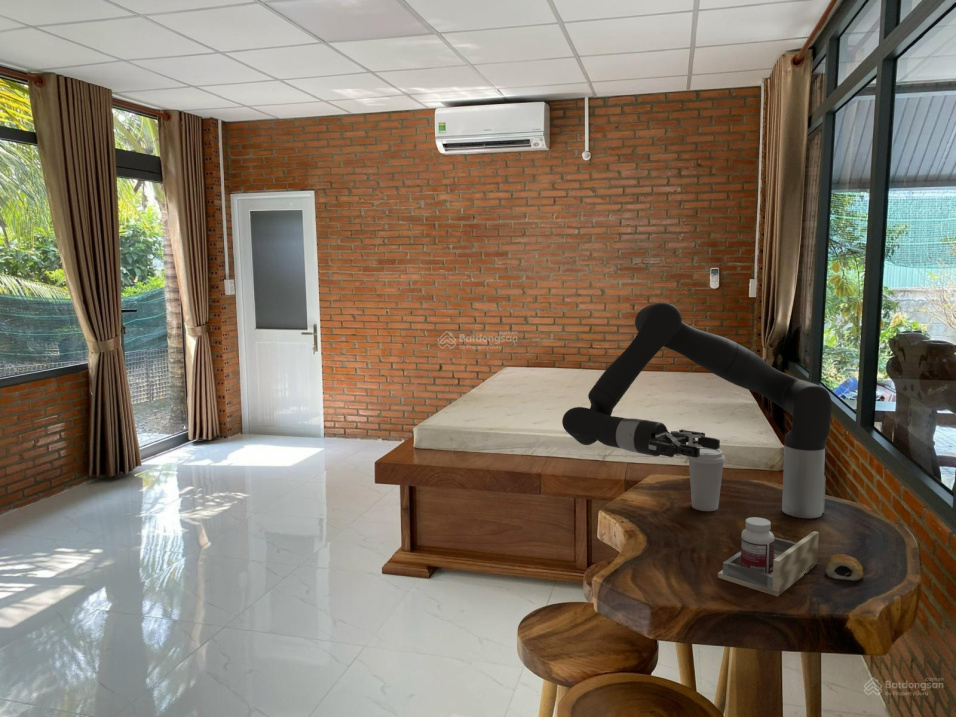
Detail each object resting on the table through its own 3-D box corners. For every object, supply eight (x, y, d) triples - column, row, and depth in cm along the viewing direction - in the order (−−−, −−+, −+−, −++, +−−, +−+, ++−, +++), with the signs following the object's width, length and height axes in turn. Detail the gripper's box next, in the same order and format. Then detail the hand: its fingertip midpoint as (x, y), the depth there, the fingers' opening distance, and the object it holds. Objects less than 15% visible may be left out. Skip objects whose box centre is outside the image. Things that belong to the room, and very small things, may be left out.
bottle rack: (760, 548, 156) (761, 518, 155) (817, 564, 148) (818, 532, 147) (717, 577, 142) (718, 544, 142) (777, 596, 134) (778, 561, 133)
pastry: (827, 560, 150) (828, 543, 150) (863, 567, 147) (864, 549, 146) (824, 578, 142) (825, 560, 141) (862, 585, 139) (864, 566, 138)
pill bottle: (758, 565, 145) (759, 514, 144) (780, 577, 140) (782, 524, 138) (733, 570, 143) (735, 518, 142) (755, 582, 138) (757, 528, 136)
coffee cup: (679, 508, 183) (680, 451, 181) (695, 498, 190) (696, 444, 189) (715, 516, 177) (717, 457, 175) (730, 505, 184) (731, 449, 182)
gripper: (623, 425, 153) (692, 437, 141) (658, 414, 162) (725, 424, 151) (623, 459, 153) (691, 473, 142) (658, 446, 163) (725, 458, 152)
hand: (709, 448), depth 146 cm, fingers open, 8 cm apart
